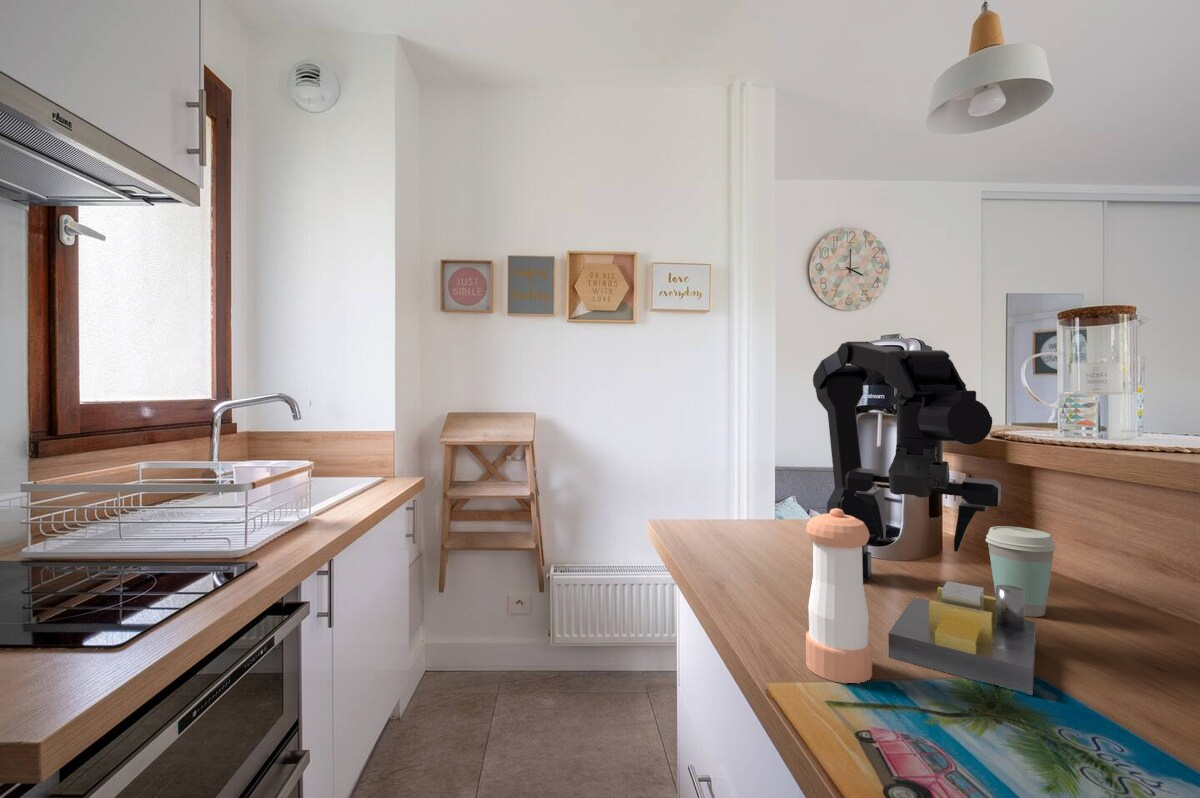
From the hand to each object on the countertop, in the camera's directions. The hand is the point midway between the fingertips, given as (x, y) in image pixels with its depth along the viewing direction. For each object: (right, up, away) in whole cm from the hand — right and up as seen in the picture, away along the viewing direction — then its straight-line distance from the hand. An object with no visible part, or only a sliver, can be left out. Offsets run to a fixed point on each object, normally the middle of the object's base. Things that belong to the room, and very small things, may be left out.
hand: (918, 544), depth 77 cm
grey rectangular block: (+1, -11, -8) cm, 14 cm away
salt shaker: (-17, -12, -13) cm, 25 cm away
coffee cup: (+19, -12, +5) cm, 23 cm away
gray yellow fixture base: (+1, -11, -9) cm, 14 cm away
